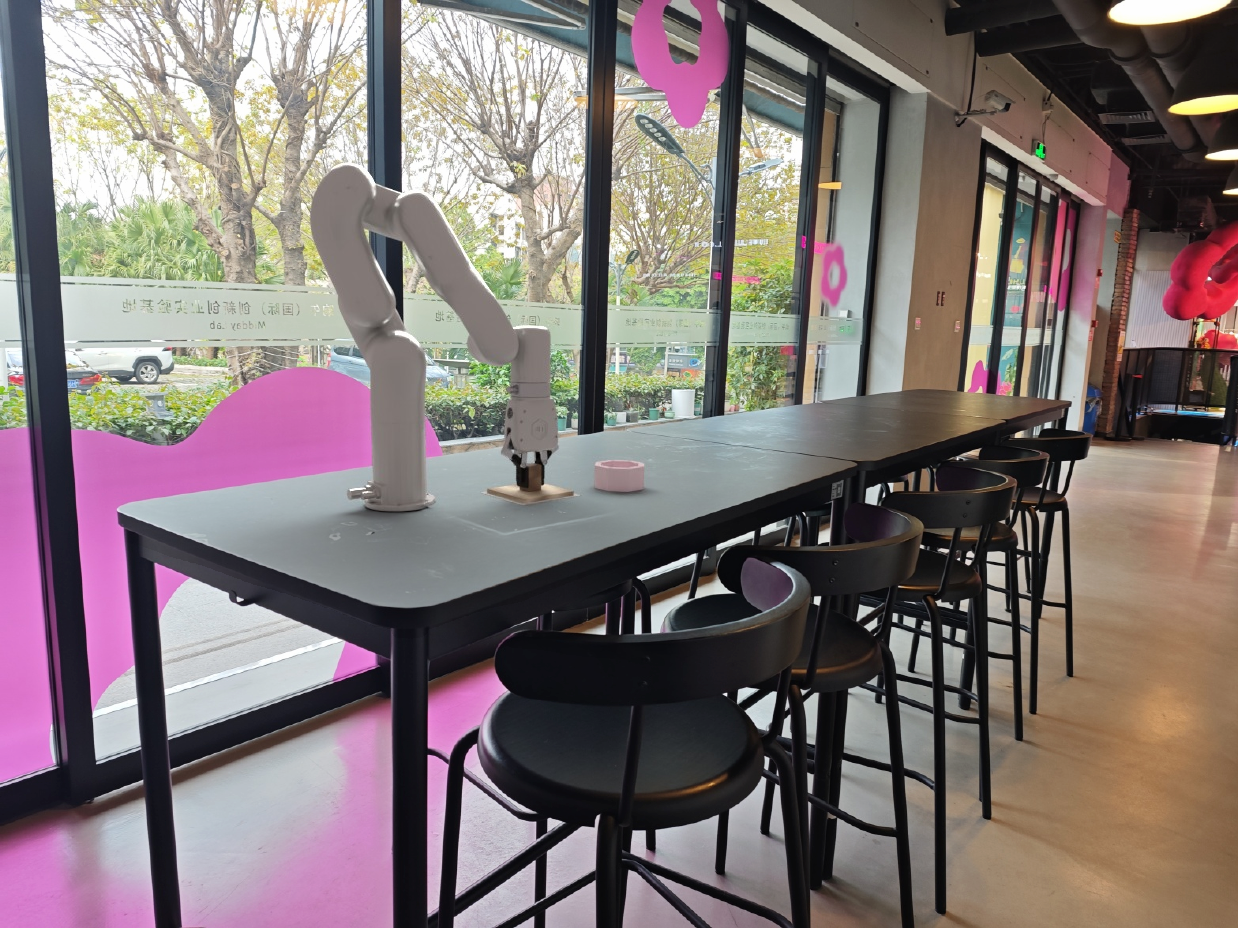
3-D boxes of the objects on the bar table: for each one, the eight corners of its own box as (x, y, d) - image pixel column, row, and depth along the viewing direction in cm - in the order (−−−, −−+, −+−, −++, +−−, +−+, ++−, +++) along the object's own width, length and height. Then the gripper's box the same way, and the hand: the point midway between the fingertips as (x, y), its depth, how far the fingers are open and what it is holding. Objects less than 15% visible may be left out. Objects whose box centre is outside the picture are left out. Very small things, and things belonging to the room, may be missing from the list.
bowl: (617, 495, 165) (618, 470, 164) (584, 487, 172) (585, 463, 171) (653, 489, 172) (654, 465, 171) (620, 481, 179) (621, 458, 178)
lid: (523, 503, 154) (523, 472, 154) (487, 492, 163) (486, 463, 162) (573, 495, 163) (574, 465, 162) (536, 485, 171) (536, 457, 170)
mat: (522, 507, 153) (522, 505, 153) (479, 494, 163) (479, 492, 163) (580, 497, 163) (581, 495, 163) (537, 485, 173) (537, 483, 173)
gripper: (506, 394, 151) (507, 494, 154) (576, 390, 162) (575, 483, 165) (483, 391, 157) (484, 487, 160) (552, 388, 168) (551, 478, 171)
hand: (530, 484), depth 163 cm, fingers closed on lid, 3 cm apart
